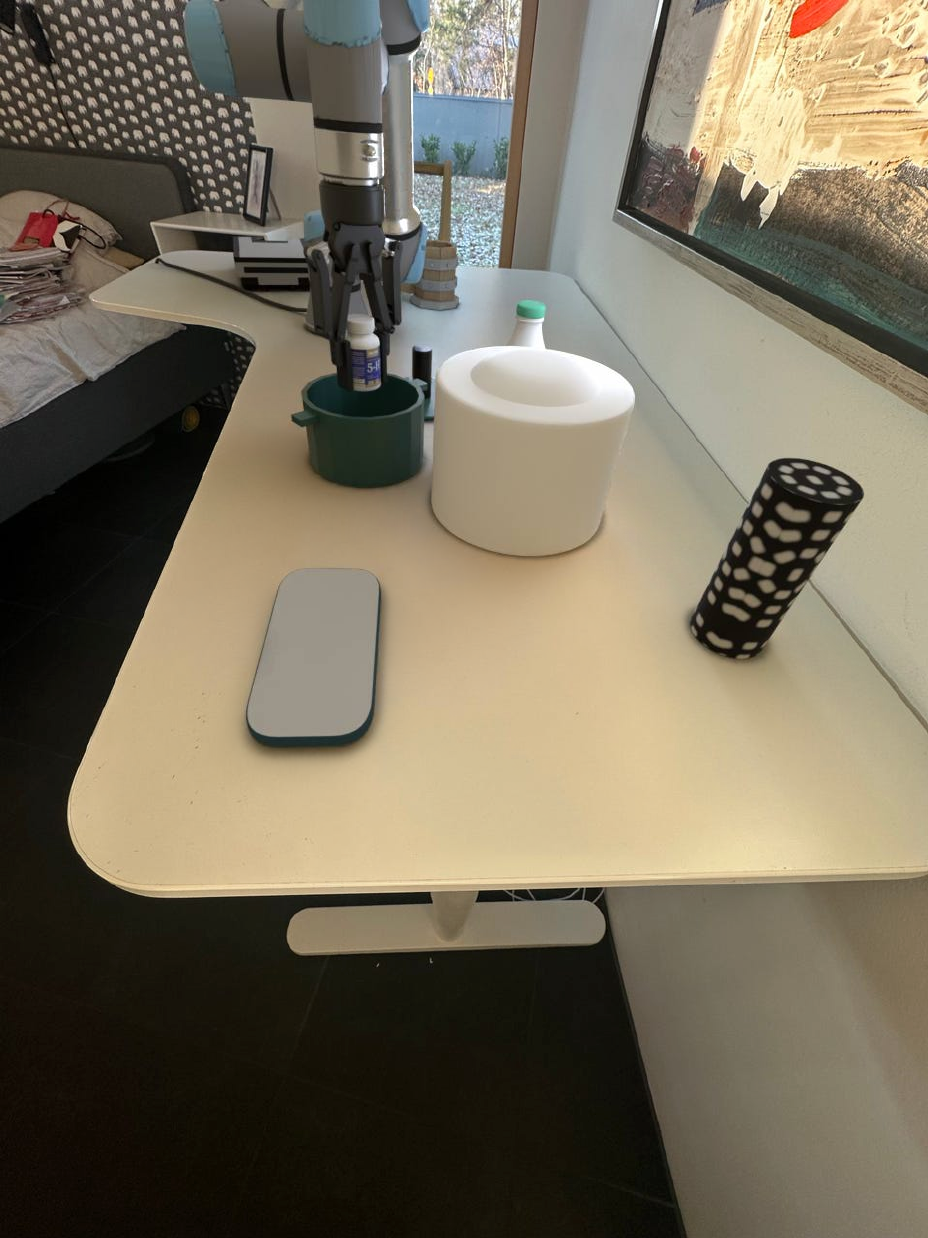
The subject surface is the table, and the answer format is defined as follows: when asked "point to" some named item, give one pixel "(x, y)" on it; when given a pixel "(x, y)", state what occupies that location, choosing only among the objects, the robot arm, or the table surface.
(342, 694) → the external hard drive
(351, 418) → the pot
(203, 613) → the table surface
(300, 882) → the table surface
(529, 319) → the milk bottle
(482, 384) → the container
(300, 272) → the game console
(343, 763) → the table surface
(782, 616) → the white-spotted black cylinder
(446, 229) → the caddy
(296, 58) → the robot arm
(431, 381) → the lid
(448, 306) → the tankard
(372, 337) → the pill bottle
